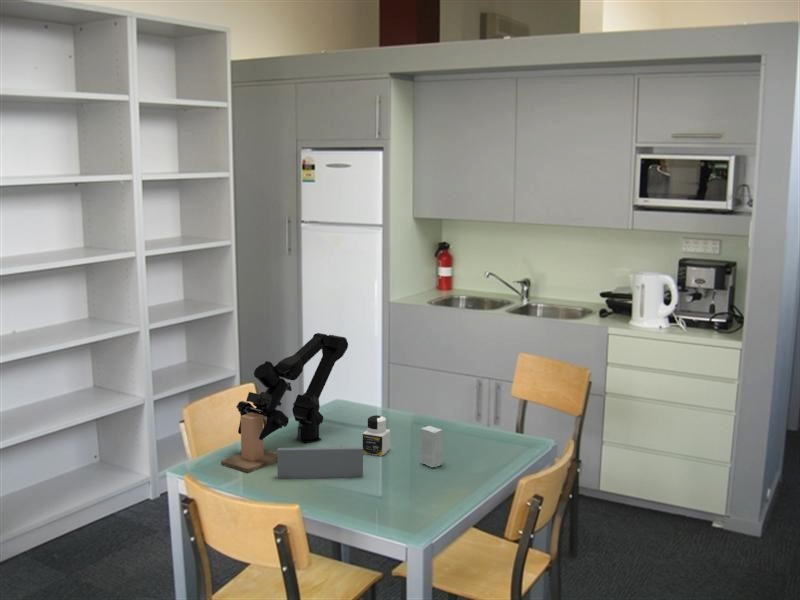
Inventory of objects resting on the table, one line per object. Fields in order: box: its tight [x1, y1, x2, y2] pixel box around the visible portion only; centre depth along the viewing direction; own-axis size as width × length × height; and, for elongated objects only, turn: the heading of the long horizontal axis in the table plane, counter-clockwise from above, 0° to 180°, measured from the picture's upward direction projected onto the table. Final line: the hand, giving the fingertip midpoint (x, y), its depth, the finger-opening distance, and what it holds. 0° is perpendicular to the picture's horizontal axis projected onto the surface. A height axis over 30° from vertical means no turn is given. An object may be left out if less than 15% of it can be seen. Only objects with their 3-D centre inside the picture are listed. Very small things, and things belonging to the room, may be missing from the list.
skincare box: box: [419, 425, 444, 466], centre depth 270 cm, size 6×4×12 cm
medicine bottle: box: [362, 414, 391, 457], centre depth 281 cm, size 7×7×12 cm
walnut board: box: [220, 448, 277, 474], centre depth 271 cm, size 16×12×1 cm
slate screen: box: [276, 446, 364, 479], centre depth 261 cm, size 6×26×9 cm, turn 95°
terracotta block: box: [240, 412, 265, 461], centre depth 270 cm, size 5×5×14 cm
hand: (249, 436), depth 268 cm, fingers open, 9 cm apart
